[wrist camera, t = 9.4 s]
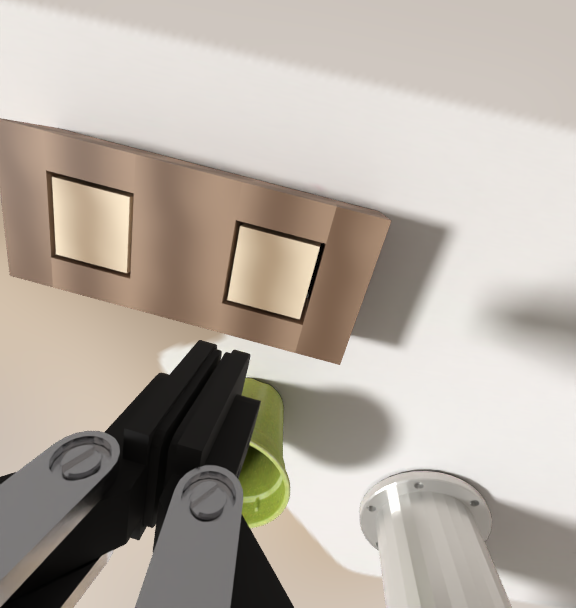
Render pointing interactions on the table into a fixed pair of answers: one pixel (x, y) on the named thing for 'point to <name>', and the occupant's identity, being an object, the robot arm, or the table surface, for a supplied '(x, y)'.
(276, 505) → the plant pot
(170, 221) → the peg board
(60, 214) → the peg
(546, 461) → the table surface
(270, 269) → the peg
